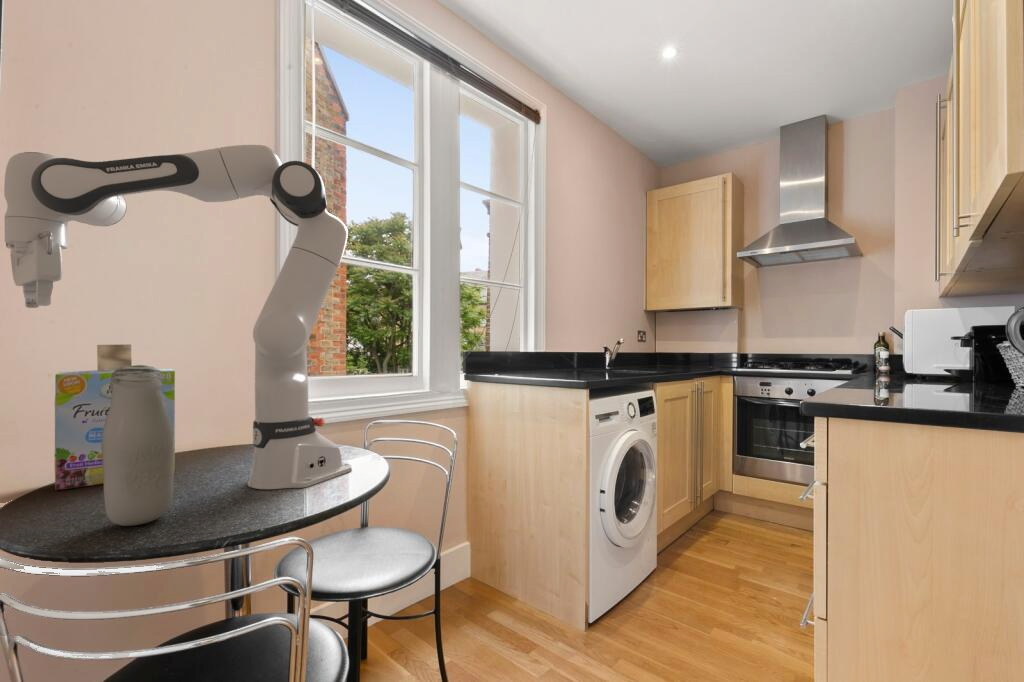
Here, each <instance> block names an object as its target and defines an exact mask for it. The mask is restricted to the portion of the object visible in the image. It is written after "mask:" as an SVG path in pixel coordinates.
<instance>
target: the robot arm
mask: <svg viewBox="0 0 1024 682" xmlns="http://www.w3.org/2000/svg"><path fill="white" fill-rule="evenodd" d="M3 188H4V189H3V191H4V192H3V194H4V195H3V196H4V199H5V201H6V205H7V207H6V211H5V214H4V243H5V247H6V248H7V249H9V250H10V251H9V252H10V262H11V263H10V265H11V272H12V278H13V282H14V285H15V286H17V287H22V293H23V298H24V305H25V308H28V309H37V308H39V307H41V306H42V307H44V306H45V307H47V306H50V305H51V304H52V302H51V301H52V298H51V297H52V293H53V288H54V283H55V282H58V281H61V280H62V277H63V259H62V258H63V257H62V250H66V249H68V223H69V222H71V221H72V222H74V221H75V222H78V223H81V224H86V225H89V226H93V227H110V226H112V225H113V226H114V225H115V224H117V223H119V222H120V221H121V220H122V219H123V218H124V217H125V214H126V212H127V201H126V199H125V196H127V195H135V194H136V195H137V194H143V193H149V192H158V191H166V192H167V191H168V192H173V193H174V192H175V193H179V194H183V195H186V196H188V197H191V198H194V199H196V200H199V201H202V202H205V203H223V202H224V203H225V202H231V201H235V200H241V199H245V198H248V197H249V198H250V197H255V196H265V197H267V198H269V201H270V202H271V203H272V205H273V206H274V207H275V209H277V211H278V212H279V214H280V215H281V217H282V218H283V219H284V220H285V221H287V223H289V224H291V225H293V226H296V227H298V228H297V233H296V236H295V238H294V240H293V243H292V245H291V247H290V249H289V251H288V253H287V256H286V259H285V260H284V262H283V265H282V267H281V270H280V272H279V274H278V276H277V279H276V280H275V282H274V284H273V286H272V288H271V290H270V292H269V295H268V296H267V298H266V301H265V303H264V305H263V307H262V308H261V311H260V313H259V315H258V317H257V319H256V321H255V323H254V326H253V330H252V337H253V341H254V345H255V346H254V351H255V352H254V353H255V354H254V355H255V358H254V359H255V360H254V361H255V362H254V363H255V364H254V415H255V416H254V417H255V418H254V420H253V422H252V443H253V447H254V448H253V449H254V450H253V459H252V464H251V472H250V475H249V478H248V482H247V486H248V487H249V488H252V489H256V490H257V489H258V490H280V489H289V488H290V489H292V488H293V489H294V488H295V489H296V488H297V489H299V488H307V487H311V486H313V485H316V484H319V483H322V482H325V481H327V480H329V479H333V478H336V477H338V476H341V475H344V474H346V473H349V472H351V471H352V470H353V469H352V465H351V464H349V463H347V462H344V461H343V459H342V454H341V449H340V447H339V446H338V445H337V444H336V443H334V442H333V441H332V440H330V439H329V438H327V437H325V436H324V435H322V434H321V433H319V432H317V429H316V427H320V428H321V427H324V425H325V424H326V422H325V421H326V420H325V419H324V418H322V417H315V418H313V417H312V416H310V415H309V378H308V376H309V375H308V357H307V356H308V353H307V352H308V351H307V345H308V342H309V340H310V337H311V335H312V332H313V331H314V328H315V326H316V324H317V323H316V322H317V320H318V319H319V315H320V312H321V310H322V308H323V305H324V301H325V299H326V298H327V295H328V292H329V290H330V287H331V286H332V282H333V280H334V278H335V276H336V274H337V272H338V269H339V267H340V264H341V263H342V262H341V261H342V258H343V256H344V252H345V249H346V245H347V241H348V235H349V234H348V228H347V226H346V225H345V223H344V222H343V221H342V219H340V218H339V217H336V216H335V215H333V214H331V213H329V212H328V210H327V207H328V202H327V197H326V196H327V195H326V189H325V183H324V181H323V179H322V176H321V175H320V173H319V172H318V171H317V170H316V169H315V168H314V167H313V166H312V165H310V164H308V163H306V162H304V161H300V160H291V161H290V160H289V161H286V162H284V163H282V162H281V160H280V157H279V156H278V155H277V153H276V152H275V151H274V150H273V149H272V148H270V147H269V146H266V145H263V144H238V145H228V146H222V147H216V148H211V149H204V150H203V149H202V150H198V151H192V152H185V153H177V154H176V153H174V154H165V155H164V154H161V155H153V156H143V157H142V156H141V157H132V158H122V159H116V160H115V159H114V160H106V161H105V160H104V161H88V160H87V161H86V160H80V159H75V158H68V157H58V156H55V155H52V154H48V153H42V152H38V151H37V152H36V151H35V152H34V151H33V152H32V151H29V152H28V151H26V152H19V153H17V154H14V155H12V156H11V157H10V158H9V159H8V161H7V163H6V168H5V175H4V186H3Z"/></svg>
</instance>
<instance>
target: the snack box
mask: <svg viewBox="0 0 1024 682" xmlns="http://www.w3.org/2000/svg"><path fill="white" fill-rule="evenodd" d="M157 369H158V370H160V375H161V380H162V386H161V389H160V391H161V395H162V398H163V401H164V406H165V409H166V412H167V414H168V416H169V418H170V422H171V425H172V430H173V474H175V473H174V472H176V471H175V470H176V468H175V463H176V460H175V459H176V457H175V456H176V454H175V453H176V449H175V448H176V444H175V441H176V437H175V435H176V432H175V431H176V418H175V417H176V409H175V408H176V404H175V403H176V399H175V397H176V394H175V393H176V392H175V391H176V389H175V388H176V386H175V385H176V378H175V377H176V370H175V369H174V368H157ZM113 372H114V371H98V369H95V370H94V369H93V370H91V369H90V370H75V371H74V370H72V371H71V370H70V371H60V372H56V374H55V377H54V378H55V382H54V384H55V385H54V386H55V390H54V391H55V394H54V483H55V484H54V489H55V491H59V490H66V489H67V490H68V489H73V488H82V487H89V486H95V485H104V476H103V459H102V449H101V448H102V445H101V444H102V433H103V428H104V425H105V422H106V418H107V415H108V411H109V408H110V406H111V396H112V394H111V392H112V391H111V389H110V381H111V376H112V373H113Z"/></svg>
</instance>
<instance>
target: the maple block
mask: <svg viewBox="0 0 1024 682" xmlns="http://www.w3.org/2000/svg"><path fill="white" fill-rule="evenodd" d="M96 346H97V347H96V353H97V355H96V356H97V357H96V358H97V367H96V368H97V370H98V371H115V370H117V369H119V368H121V367H123V366H133V365H132V344H131V343H130V344H97V345H96Z"/></svg>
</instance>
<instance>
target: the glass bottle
mask: <svg viewBox="0 0 1024 682" xmlns="http://www.w3.org/2000/svg"><path fill="white" fill-rule="evenodd" d="M158 369H159V368H156V367H154V366H149V365H142V364H139V365H137V364H136V365H132V366H123V367H121V368H119V369H117V370H115V371H114V372H113V373H112V376H111V381H110V389H111V391H112V392H111V394H112V396H111V406H110V408H109V411H108V415H107V418H106V422H105V425H104V428H103V433H102V444H101V445H102V448H101V449H102V459H103V476H104V484H103V501H104V502H103V503H104V508H105V515H106V516H107V518H108V519H109V521H110V522H111V523H113V524H115V525H118V526H122V527H129V526H130V527H131V526H132V527H133V526H139V525H144V524H149V523H150V522H153V521H155V520H158V519H159V518H161V517H162V516H164V515H165V514H166V513H167V512H168V511H169V510H170V507H171V505H172V504H173V500H174V473H173V430H172V425H171V422H170V418H169V416H168V414H167V412H166V409H165V406H164V401H163V398H162V395H161V391H160V389H161V386H162V380H161V375H160V370H158Z"/></svg>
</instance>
